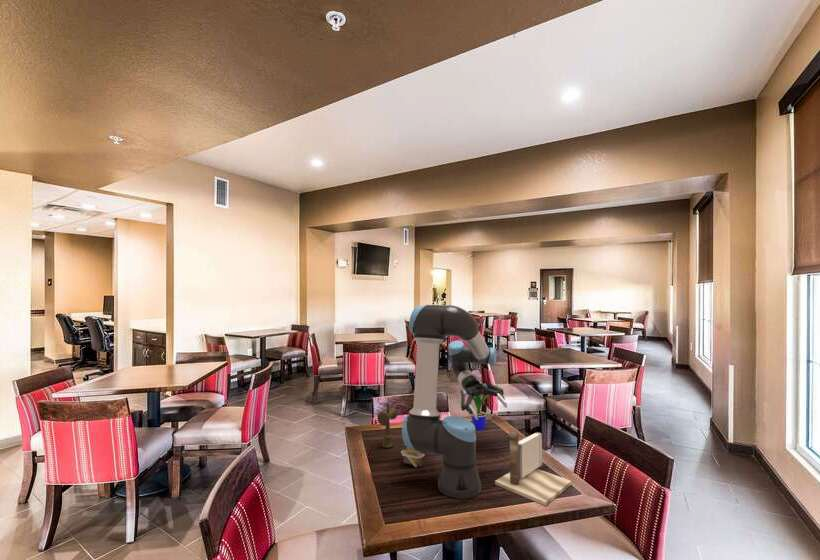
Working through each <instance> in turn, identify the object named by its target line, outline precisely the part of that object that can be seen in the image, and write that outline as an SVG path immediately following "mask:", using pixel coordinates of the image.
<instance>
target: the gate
mask: <svg viewBox="0 0 820 560" xmlns="http://www.w3.org/2000/svg"><path fill="white" fill-rule="evenodd" d="M518 448H519V479H522V478H523V477H525V476H526V475H528V474H529V473H531V472H532V471H534V470H535V469H539V468H540V467H541V466H542V465H543V434H542V433H541V432H538V431H536V432H534V433H533V434H531V435H528V436H527V437H524V438H522V439H521V440H518Z"/></svg>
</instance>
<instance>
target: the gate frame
mask: <svg viewBox="0 0 820 560" xmlns="http://www.w3.org/2000/svg"><path fill="white" fill-rule="evenodd" d="M508 438H509V472H508V473H506V474H504V475H503V476H501V477H499V478H498V479H496V480H495V481H494V484H495V486H498V487H500V488H502V489H504V490H507V491H509V492H512V493H514V494H516V495H519V496H521V497H524V498H525V499H529V500H530V501H532V502H536V503H538V504H540V505H543V506H545V507H547V505H549V504H550V503H552V501H554V500H555V499H556V498H558V497H559V496H560V495H561V494H562V493H563V492H564V491H565V490H567V489H569V487H570V486H572V483H573V482H572V480H569V479H567V478H566V477H565V478H564V477H562V476H559V475H556V474H553V473H551V472H547V471H545V470H542V469H539V468H537V469H535V470H534V471H532V472H531V473H529V474H528V475H526V476H525V477H523V478H522V479H519V448H518V442H519V438H520V434H519V432H517V431H516V430H511V431H509V433H508Z"/></svg>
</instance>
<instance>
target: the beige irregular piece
mask: <svg viewBox="0 0 820 560" xmlns="http://www.w3.org/2000/svg"><path fill="white" fill-rule="evenodd" d="M400 453H401V455H402V456H403V463H404V464H409V465H413V466H414V468H417V467H422V466H423V464H422V461H423V460H422V458H424V457H425V453H424V452H421V451H419V452H418V451H415V450H412V449H409V448H407V447H406V449H402V450H401V451H400Z"/></svg>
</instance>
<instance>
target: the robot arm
mask: <svg viewBox="0 0 820 560" xmlns="http://www.w3.org/2000/svg"><path fill="white" fill-rule="evenodd" d="M408 326H409V332H410V334H412V335H413V339H414V341H415V342H416V343H417V345H416V346H417V347H416V348H417V349H416V364H415V376H414V377H415V378H414V391H413V394H414V395H413V407H412V408H411V409H410V410H409V412H408V415H406V416H405V417H404V418H403V423H402V426H401V438H402V441H403V444H404V445H405V447H406V449H407V448H409V450H410V449H412V451H413V450H415V451H416V452H417V451H418V452H419V451H420V453H427V454H428V453H429V454H433V455H438V456H442V466H441V469H440V472H439V475H438V480H437V487H438V488H437V489H438V490H439V492H440V493H441V494H442V495H444V496H447V497H449V498H454V499H461V500H462V499H464V500H465V499H471V498H475V497H477V496H478V495H479V494H480V493H481V492H482V481H481V479H480V475H479V472H478V469H477V444H476V443H477V434H476V430H475V426H474V425H473V423H472V421H470V420H469V419H467V418H465V417H461V416H455V415H453V416H452V415H447V416H445V417H443V418H442V420H441V413H440V412H439V411H438V410H437V402H438V401H437V398H438V380H439V379H438V377H439V363H440V362H439V360H440V359H439V358H440V345H441V344H442V343H443V342H444V340H445V338H444V337H445V336H446V337H448V336H449V337H450V336H451V337H458V339H460V340H461V341H460V340H453V341H451V342H449V344H448V348H447V349H448V355H449V360H450V362H449V365H448V368H449V370H450V372H451V373H452V375H453V376H454V377H455V379H456V380H457V382H459V384H460V386H461V387H462V388H463V390H460V394H459V395H460V407H461V411H462V412H463V411H464V412H465V410H466V412H468V413H469V415H471V414H473V416H474V417H475V419H476V420H478V415H477V413H476V412H477V411H476V410H475V409H474V407H473V406H472V405H471V404H472V401H474V400H473V397H476V396H478V395H481V396H482V395H483V396H485V395H489V396H492V397H497V399H498V401H499V402H500V403H501V404H502V405H503V407H504V408H505V409H507V408H508V403H507V401H506V399H505V396H504V394H505V393H504V388H501V387H499V386H496V385H494V384H492V383H489V382H488V381H487V380H485V381H484V383H480V382H479V381H478V380H477V379H476V377H475V376H474V375H473V374H472V371H471V370H470V368H469V367H468V364H469V363H470V364H481V365H482V364H483V365H495V364H496V362H497V358H498V357H497V356H498V355H497V353H498V352H497V349H496V348H494V347H490V346H489V347H488V345H487V343H486V341H485V339H484V337H483V335H482V334H481V332H480V325H479V322H478V321H477V319H476V318H475V317H474V316H473V315H472V314H471V313H470V312H468V311H467V310H465V309H464V308H462V307H460V306H457V305H451V304H450V305H441V304H440V305H439V304H438V305H436V304H424V305H417V306H415V307H414V309H413V310H412V312H411V313H410V316H409V321H408ZM464 343H465V344H464ZM466 395H468V397H467V399H466V402H465V398H466Z"/></svg>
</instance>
